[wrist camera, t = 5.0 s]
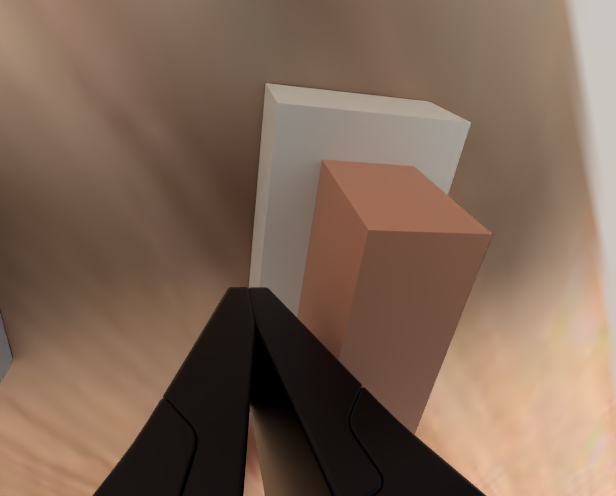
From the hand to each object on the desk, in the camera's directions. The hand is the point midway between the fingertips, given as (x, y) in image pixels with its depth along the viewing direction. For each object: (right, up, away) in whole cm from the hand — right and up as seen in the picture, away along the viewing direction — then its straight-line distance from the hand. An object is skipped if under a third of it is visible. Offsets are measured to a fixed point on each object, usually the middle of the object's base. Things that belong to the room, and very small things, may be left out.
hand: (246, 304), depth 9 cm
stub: (+2, +1, +3) cm, 4 cm away
